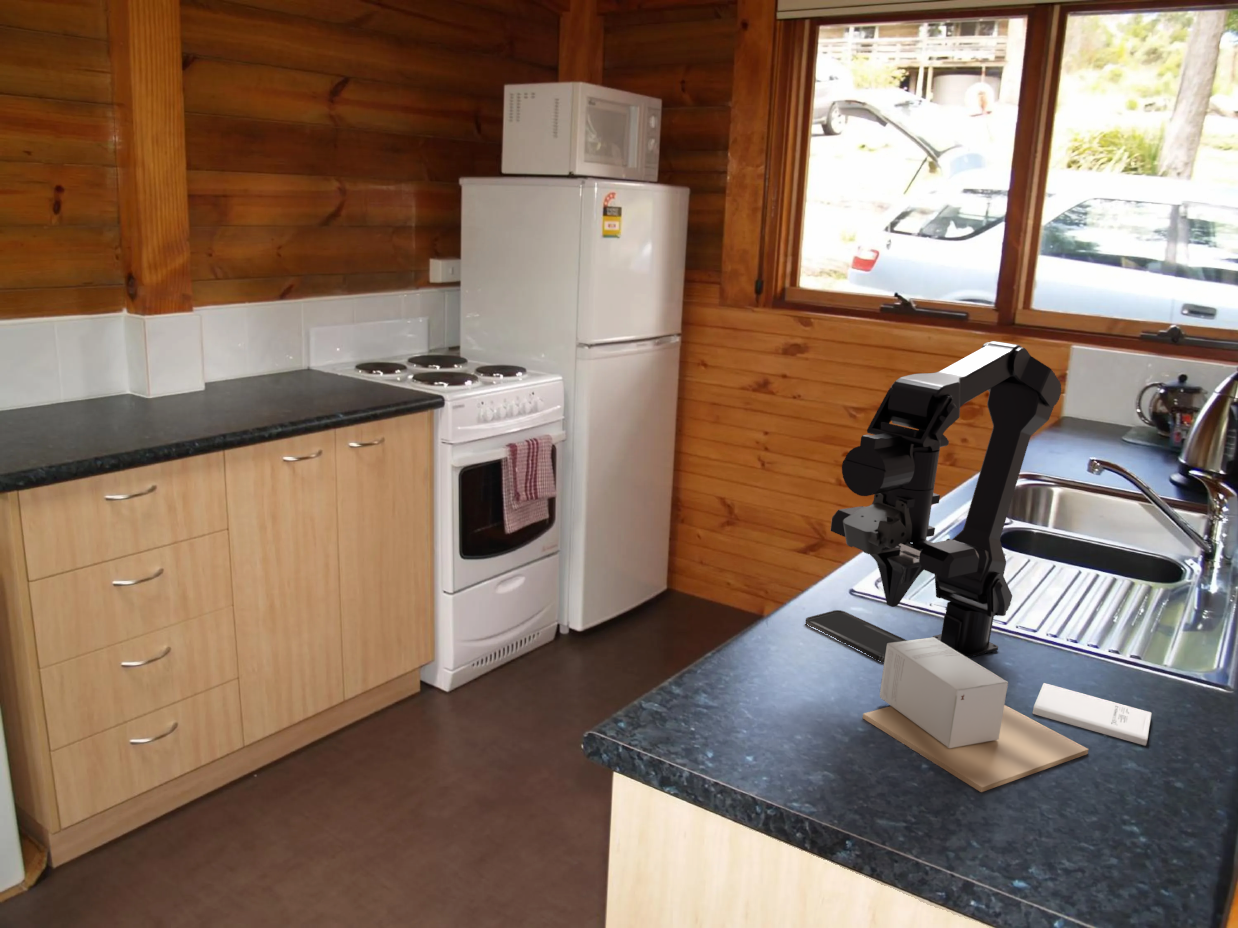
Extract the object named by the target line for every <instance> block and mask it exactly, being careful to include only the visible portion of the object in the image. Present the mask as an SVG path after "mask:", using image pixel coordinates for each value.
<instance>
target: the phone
mask: <svg viewBox="0 0 1238 928" xmlns="http://www.w3.org/2000/svg"><path fill="white" fill-rule="evenodd" d="M805 623H806V624H808V625H809V626H811V627H814V628H816V629H818V630H820V631H822V632H824V633H825V634H828V635H830V636H832V637H834V638H836V639H837V640H839V641H841V642H843V643H846V644H847V645H850V646H852V647H854V648H856V649H858V650H860V651H862V652H863V653H866V654H867V655H869V656H871V657H873V658H874V659H873V658H872V659H873V660H875V659H876V660H875V661H877V660H879V661H881V662H880V663H882V662H884V661H885V654H886V647H887V643H893V642H901V641H909V640H907V639H906V638H903V637H901V636H899V635H896V634H894V633H892V632H890V631H888V630H885V629H883V628H882V627H879V626H877V625H875V624H872V623H870V622H868V621H867V620H864V619H862V618H860V617H857V616H855V615H853V614H851V613H849V612H847V611H844V610H840V609H839V610H837V609H835V610H831V611H828V612H823V613H820V614H816V615H812V616H808V617H805ZM806 624H805V625H806ZM863 653H862V654H863ZM867 655H866V656H867ZM869 656H868V657H869ZM871 657H870V658H871ZM879 661H878V662H879Z"/></svg>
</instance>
